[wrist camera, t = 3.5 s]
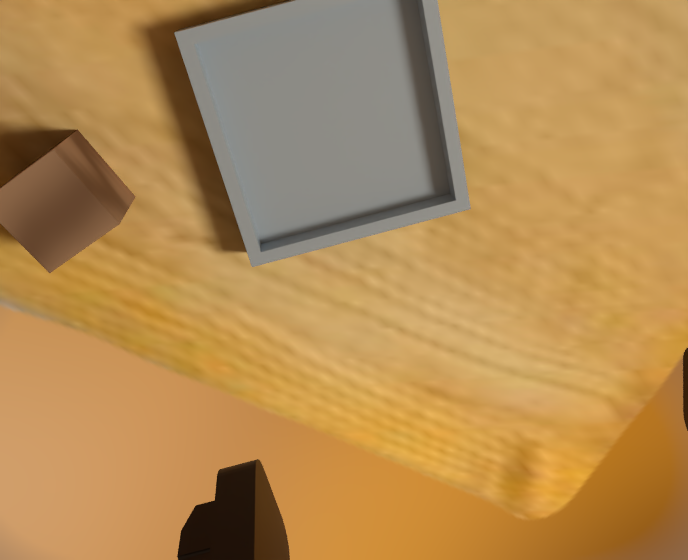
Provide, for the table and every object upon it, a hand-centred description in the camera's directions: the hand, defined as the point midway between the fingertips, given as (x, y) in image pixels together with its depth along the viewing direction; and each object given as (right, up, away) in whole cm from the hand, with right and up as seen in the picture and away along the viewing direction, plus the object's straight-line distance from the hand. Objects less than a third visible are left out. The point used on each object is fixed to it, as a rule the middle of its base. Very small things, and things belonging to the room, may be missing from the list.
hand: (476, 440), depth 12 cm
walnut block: (-19, +9, +27) cm, 34 cm away
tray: (-3, +13, +27) cm, 30 cm away
